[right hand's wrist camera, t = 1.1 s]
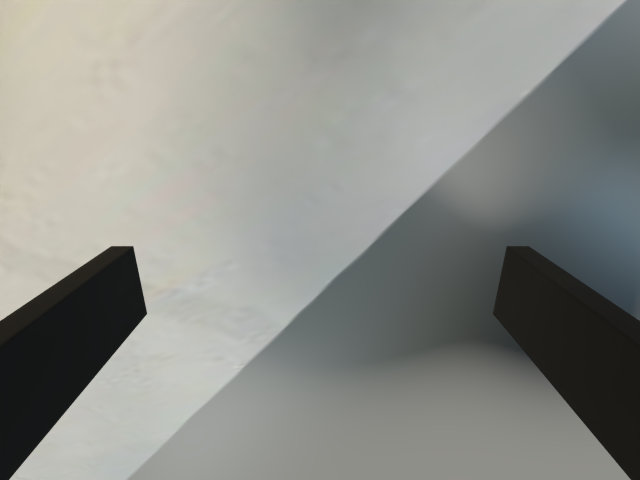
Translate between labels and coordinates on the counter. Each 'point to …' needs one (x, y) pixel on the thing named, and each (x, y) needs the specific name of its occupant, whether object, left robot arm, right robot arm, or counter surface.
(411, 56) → the counter surface
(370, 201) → the counter surface
